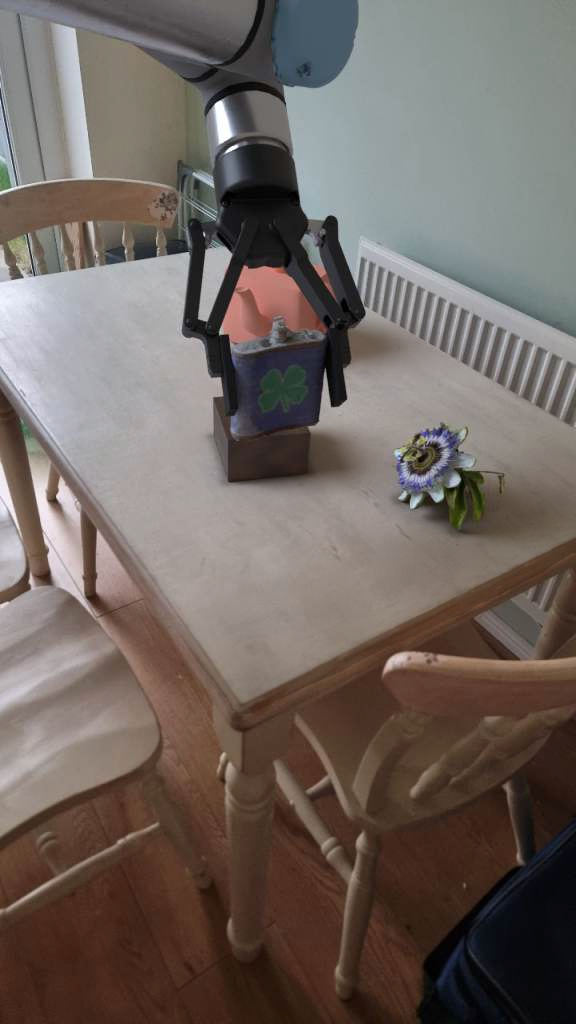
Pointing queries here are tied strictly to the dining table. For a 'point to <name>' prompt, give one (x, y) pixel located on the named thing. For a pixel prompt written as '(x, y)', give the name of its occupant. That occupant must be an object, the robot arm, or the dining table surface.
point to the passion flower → (441, 473)
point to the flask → (278, 381)
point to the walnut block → (259, 450)
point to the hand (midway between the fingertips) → (286, 407)
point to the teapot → (269, 304)
